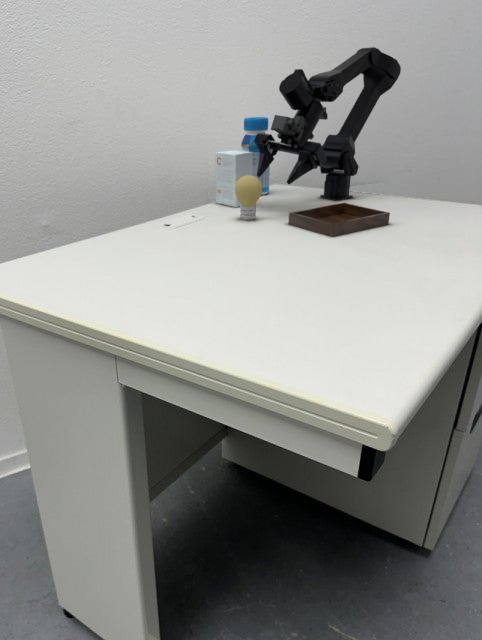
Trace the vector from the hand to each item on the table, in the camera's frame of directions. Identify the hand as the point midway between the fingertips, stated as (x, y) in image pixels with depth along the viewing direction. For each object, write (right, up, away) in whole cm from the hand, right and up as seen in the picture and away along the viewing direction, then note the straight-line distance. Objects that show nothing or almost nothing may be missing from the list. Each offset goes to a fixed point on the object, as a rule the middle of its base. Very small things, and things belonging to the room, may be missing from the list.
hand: (272, 179), depth 132 cm
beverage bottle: (-2, +6, +28) cm, 28 cm away
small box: (-8, -1, +16) cm, 18 cm away
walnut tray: (+14, -13, -8) cm, 20 cm away
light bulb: (-6, -10, -1) cm, 12 cm away
